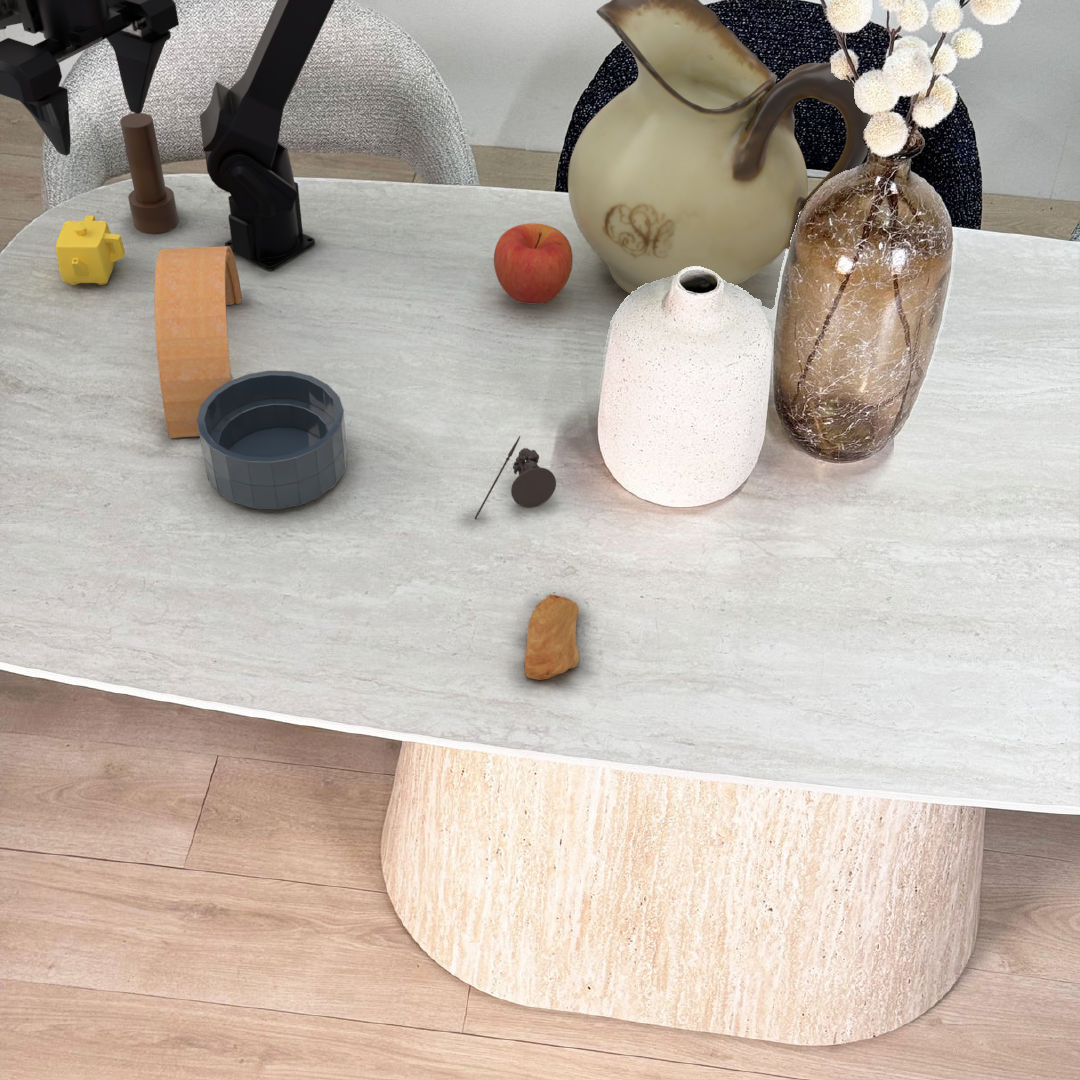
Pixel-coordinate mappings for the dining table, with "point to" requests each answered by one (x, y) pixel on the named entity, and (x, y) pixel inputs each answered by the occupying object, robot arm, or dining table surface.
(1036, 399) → the dining table surface
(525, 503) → the dark disc and stick
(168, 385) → the arch
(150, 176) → the muddler
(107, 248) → the teapot
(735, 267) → the pitcher
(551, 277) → the apple
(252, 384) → the bowl
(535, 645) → the brown rounded lump
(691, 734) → the dining table surface
